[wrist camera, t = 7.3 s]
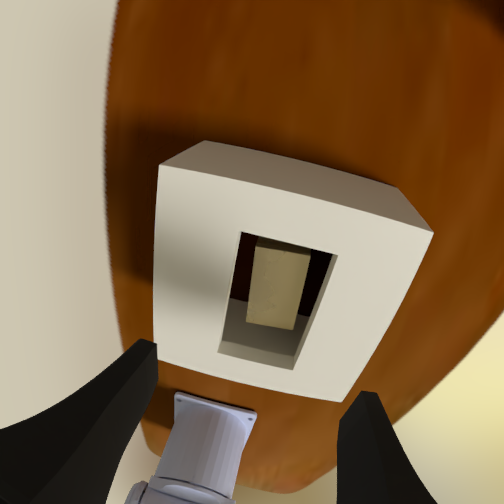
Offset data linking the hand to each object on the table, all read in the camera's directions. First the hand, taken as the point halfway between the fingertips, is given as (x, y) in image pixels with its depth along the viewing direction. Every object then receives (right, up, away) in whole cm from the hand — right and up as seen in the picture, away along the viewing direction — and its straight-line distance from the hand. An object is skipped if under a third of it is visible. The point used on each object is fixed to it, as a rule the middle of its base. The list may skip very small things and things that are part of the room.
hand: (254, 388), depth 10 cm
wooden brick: (+2, +5, +9) cm, 10 cm away
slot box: (+2, +5, +9) cm, 10 cm away
